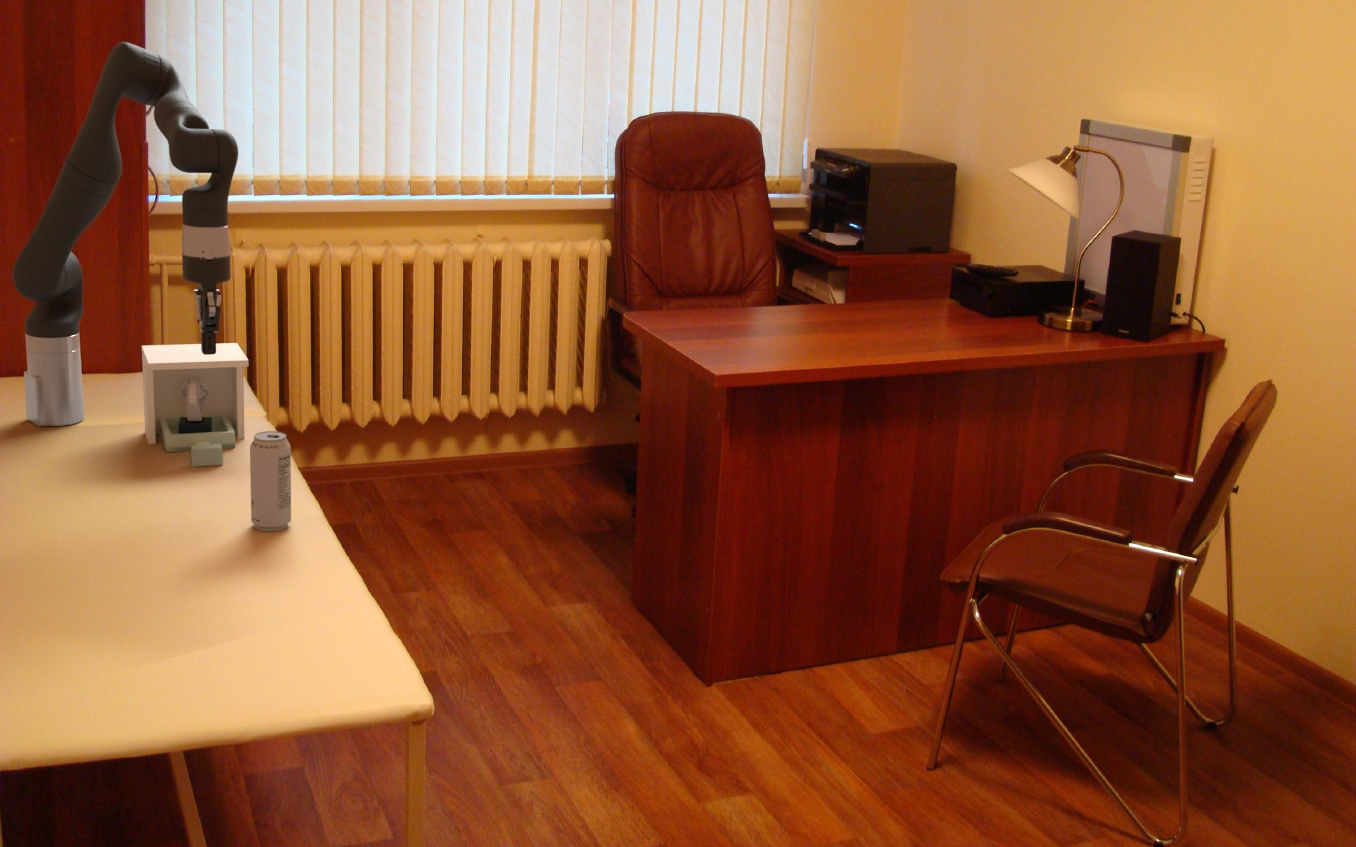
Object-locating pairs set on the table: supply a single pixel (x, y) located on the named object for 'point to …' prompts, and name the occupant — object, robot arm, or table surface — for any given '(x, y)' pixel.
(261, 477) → the energy drink can
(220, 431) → the tray
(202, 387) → the watch
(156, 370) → the white side table
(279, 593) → the table surface
